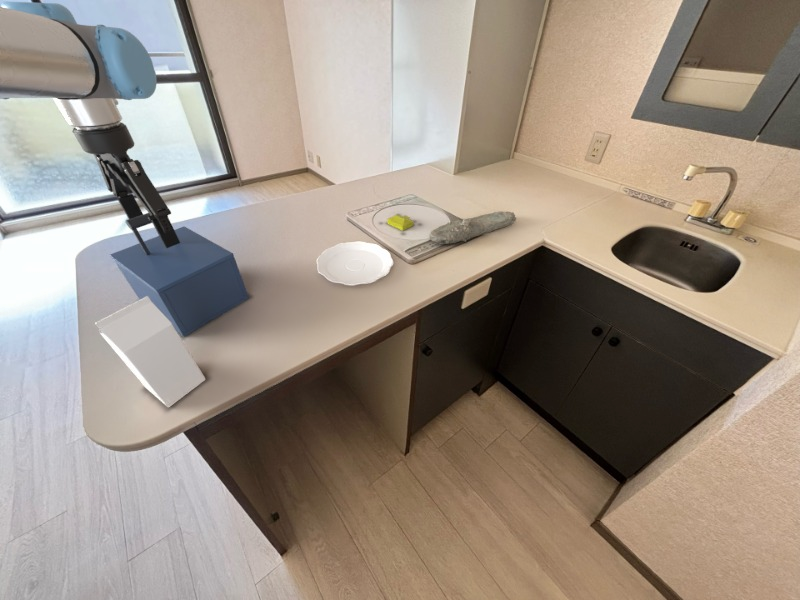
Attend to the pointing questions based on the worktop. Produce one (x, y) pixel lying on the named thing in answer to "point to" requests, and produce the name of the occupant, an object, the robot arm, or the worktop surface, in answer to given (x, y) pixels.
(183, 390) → the milk carton
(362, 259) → the plate
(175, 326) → the cool box
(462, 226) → the elongated rock
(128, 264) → the cool box lid
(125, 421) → the worktop surface
